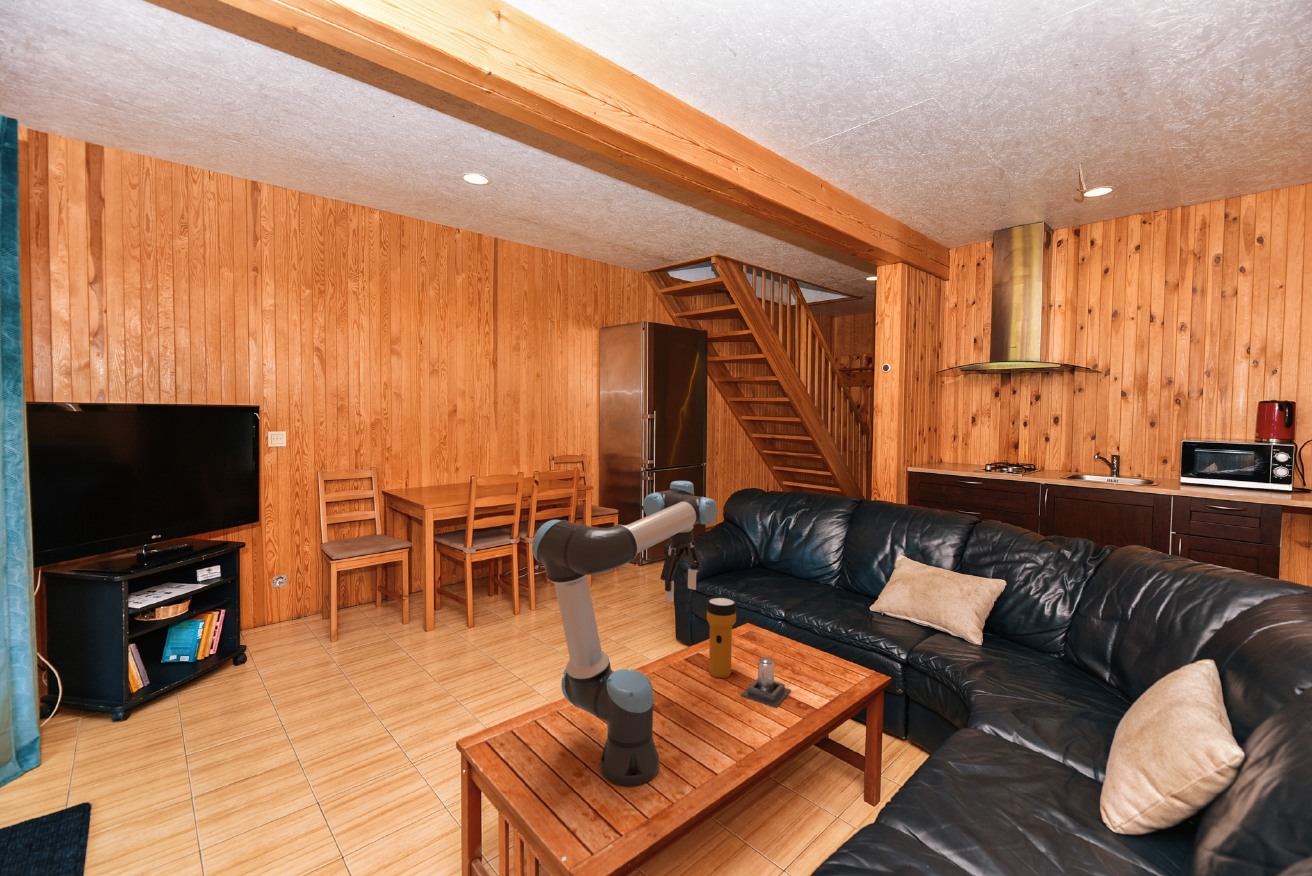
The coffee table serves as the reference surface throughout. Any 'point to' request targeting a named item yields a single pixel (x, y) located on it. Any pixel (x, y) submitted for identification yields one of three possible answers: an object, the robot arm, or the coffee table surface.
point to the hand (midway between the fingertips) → (680, 594)
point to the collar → (767, 694)
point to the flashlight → (720, 634)
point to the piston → (766, 674)
